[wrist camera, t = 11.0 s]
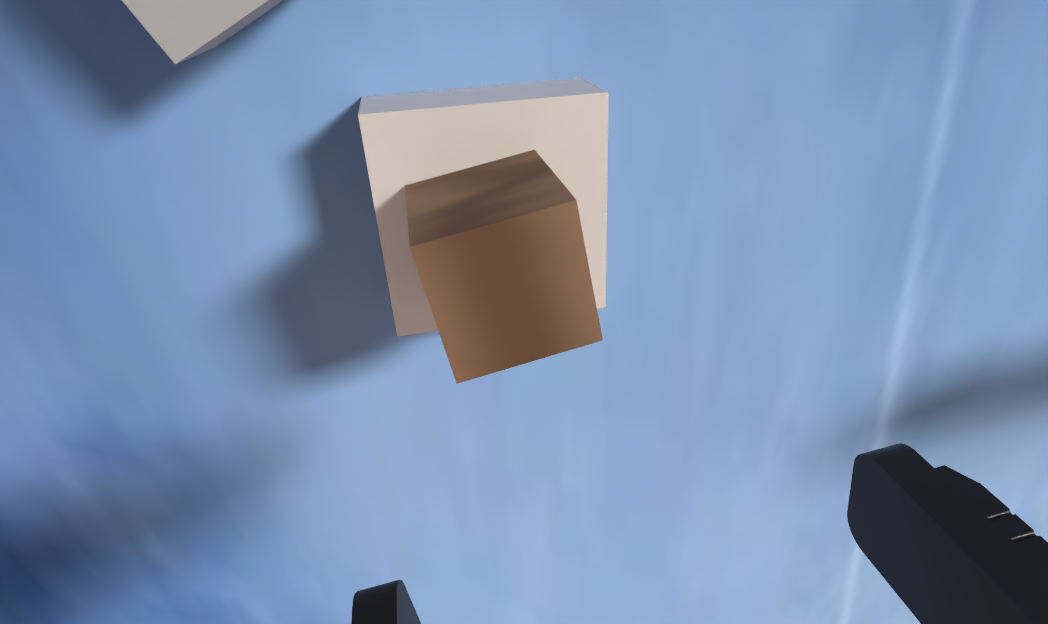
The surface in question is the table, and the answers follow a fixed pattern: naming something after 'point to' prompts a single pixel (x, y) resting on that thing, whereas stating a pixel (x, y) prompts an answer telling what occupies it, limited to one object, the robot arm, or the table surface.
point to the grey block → (195, 22)
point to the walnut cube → (502, 264)
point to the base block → (473, 139)
